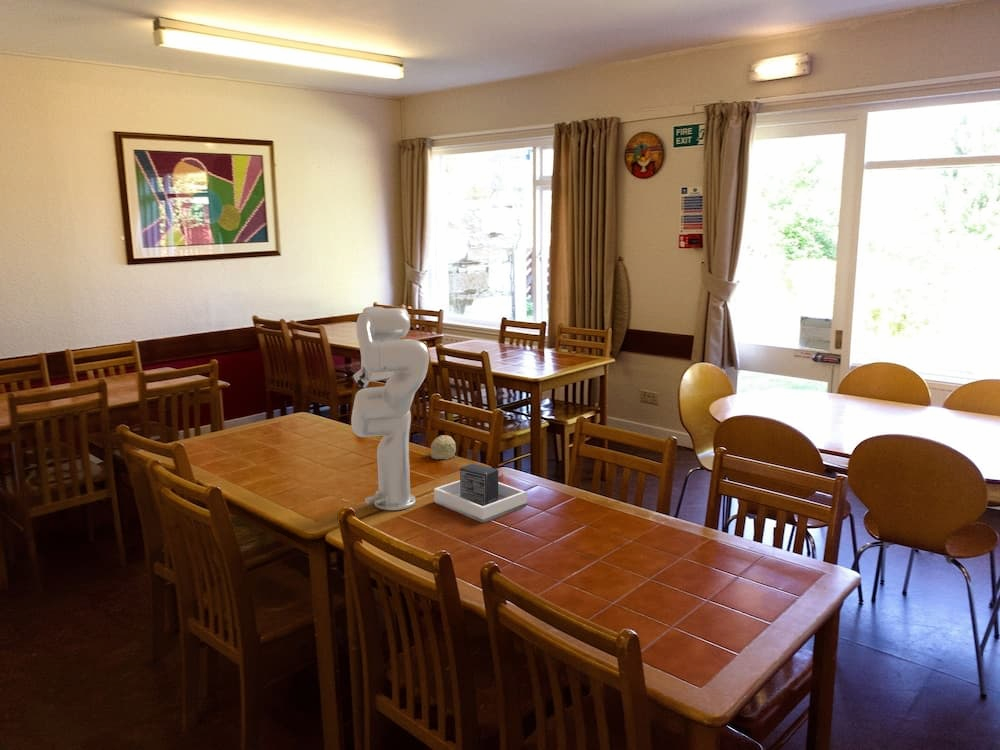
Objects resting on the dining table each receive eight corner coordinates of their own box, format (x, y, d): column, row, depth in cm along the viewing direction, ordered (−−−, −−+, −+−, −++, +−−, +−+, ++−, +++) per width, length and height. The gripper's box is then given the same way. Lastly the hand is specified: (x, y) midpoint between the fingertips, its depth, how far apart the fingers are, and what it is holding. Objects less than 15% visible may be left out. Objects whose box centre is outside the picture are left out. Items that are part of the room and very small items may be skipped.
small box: (499, 501, 217) (499, 468, 215) (486, 508, 212) (486, 474, 210) (472, 494, 223) (472, 462, 221) (459, 500, 218) (458, 467, 216)
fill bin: (482, 522, 204) (482, 508, 203) (434, 502, 220) (433, 488, 219) (526, 505, 216) (526, 491, 215) (477, 487, 232) (477, 474, 231)
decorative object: (437, 470, 259) (450, 450, 255) (420, 451, 263) (433, 431, 259) (453, 465, 267) (466, 446, 263) (436, 447, 271) (448, 428, 267)
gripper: (359, 349, 224) (361, 402, 227) (404, 343, 235) (405, 393, 239) (346, 346, 229) (348, 398, 232) (390, 340, 241) (392, 390, 244)
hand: (377, 396), depth 236 cm, fingers open, 9 cm apart
